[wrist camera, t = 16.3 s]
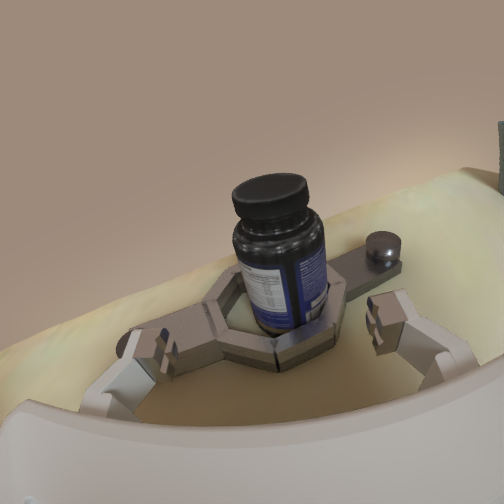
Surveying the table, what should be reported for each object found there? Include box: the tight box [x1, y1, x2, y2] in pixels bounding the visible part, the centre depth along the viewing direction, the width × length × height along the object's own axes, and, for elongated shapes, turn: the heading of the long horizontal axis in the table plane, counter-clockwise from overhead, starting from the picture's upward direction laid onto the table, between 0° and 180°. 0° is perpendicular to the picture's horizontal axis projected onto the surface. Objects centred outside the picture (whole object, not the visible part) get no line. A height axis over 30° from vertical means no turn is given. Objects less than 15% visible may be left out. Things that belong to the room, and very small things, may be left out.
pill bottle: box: [232, 173, 328, 337], centre depth 20 cm, size 6×6×11 cm
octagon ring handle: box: [116, 231, 402, 383], centre depth 22 cm, size 26×11×3 cm, turn 111°
